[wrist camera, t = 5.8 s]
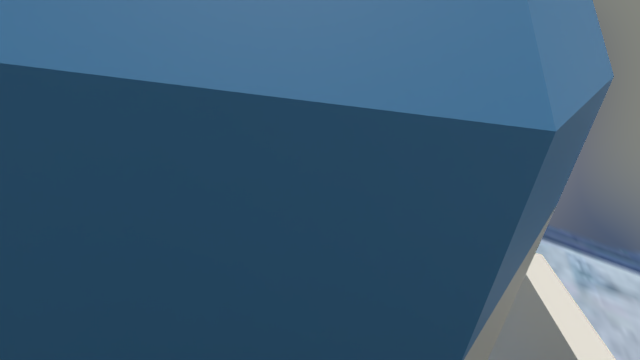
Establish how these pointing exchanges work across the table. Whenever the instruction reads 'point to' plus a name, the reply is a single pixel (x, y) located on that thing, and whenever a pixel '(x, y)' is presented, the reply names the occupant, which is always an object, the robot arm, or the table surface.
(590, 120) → the water bottle
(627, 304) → the table surface
